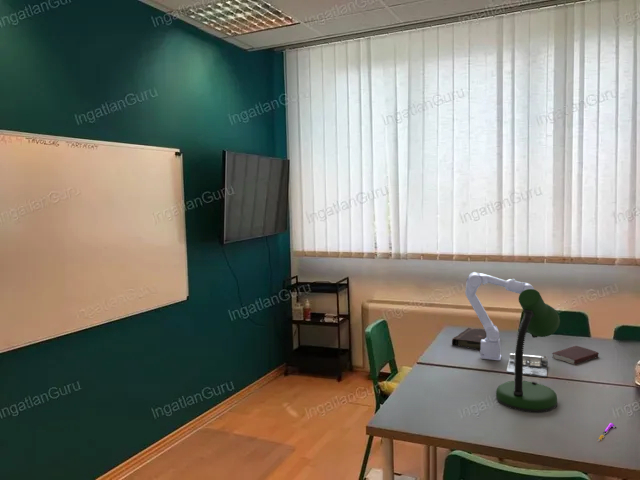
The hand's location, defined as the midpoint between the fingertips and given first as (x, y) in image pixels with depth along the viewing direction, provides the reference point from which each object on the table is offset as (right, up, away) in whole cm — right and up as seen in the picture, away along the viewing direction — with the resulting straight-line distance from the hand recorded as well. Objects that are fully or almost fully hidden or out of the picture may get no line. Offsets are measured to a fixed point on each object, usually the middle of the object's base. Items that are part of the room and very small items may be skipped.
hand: (535, 334), depth 252 cm
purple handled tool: (-6, -21, -74) cm, 77 cm away
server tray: (-8, -14, -9) cm, 18 cm away
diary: (-19, -11, +33) cm, 40 cm away
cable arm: (-5, -12, -4) cm, 13 cm away
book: (+22, -13, +4) cm, 25 cm away
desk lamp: (-20, -18, -42) cm, 50 cm away
